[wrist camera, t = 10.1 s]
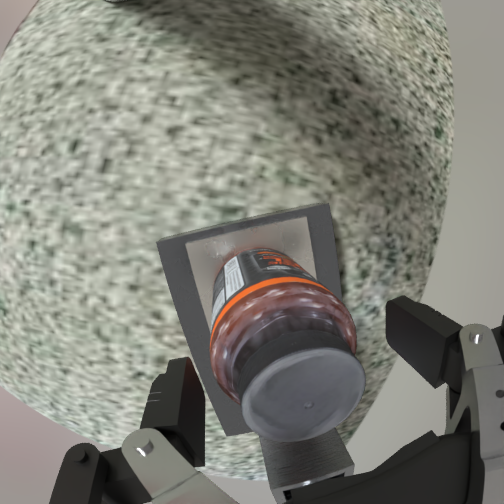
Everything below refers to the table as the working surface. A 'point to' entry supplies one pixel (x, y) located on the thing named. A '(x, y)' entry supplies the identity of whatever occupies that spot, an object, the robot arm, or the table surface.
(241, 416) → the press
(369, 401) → the table surface
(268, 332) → the supplement bottle
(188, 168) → the table surface
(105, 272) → the table surface
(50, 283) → the table surface
